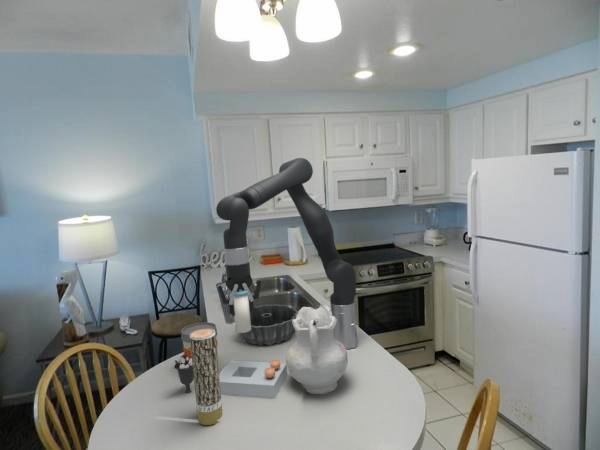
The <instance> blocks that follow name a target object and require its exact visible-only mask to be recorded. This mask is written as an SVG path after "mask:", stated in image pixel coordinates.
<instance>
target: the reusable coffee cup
mask: <svg viewBox="0 0 600 450" xmlns="http://www.w3.org/2000/svg"><path fill="white" fill-rule="evenodd" d="M200 329H213V330H215V334H216V337H217V336H218V329H217V326H216V324H215V323H213V322H209V321H208V322H207V321H206V322H205V321H204V322H203V321H202V322H196V323H191V324H189V325H186V326H184V327H183V328H181V330H180V331H181V332H180V333H181V334H180V335H181V337H180V338H181V339H180V340H181V341H182V344H183V345H182V349H183V350H182V351H183V354H184V353H186V352H187V351H188V352H187V355H189V350H190V355H192V353H191V349H189V348H191V343H190V334H191V333H192V332H194V331H196V330H200ZM216 345H217V346H218V340H217V338H216ZM188 349H189V350H188Z"/></svg>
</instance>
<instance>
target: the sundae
mask: <svg viewBox="0 0 600 450" xmlns="http://www.w3.org/2000/svg"><path fill="white" fill-rule="evenodd" d="M189 349H191V348H189ZM189 349H188V350H189ZM187 352H188V351H187ZM187 352H186V353H184V352H183V355H182V356H180V357H179V358H178V361H177V360H174V362H175V364H174V367H173V368H174V369H175V370H176V371H177V373H178V378H179V382H180V383H181V384H182V385H183V386H185V392H184V394H191V392H192V390H191V386H190V384H192V383H193V382H194V374H193V364H192V355H190V350H189V355H187Z"/></svg>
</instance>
